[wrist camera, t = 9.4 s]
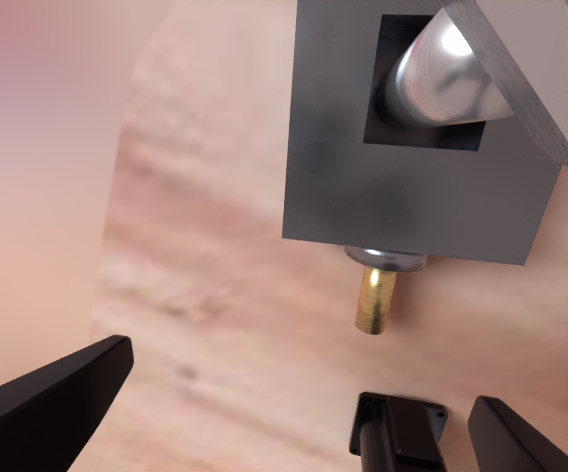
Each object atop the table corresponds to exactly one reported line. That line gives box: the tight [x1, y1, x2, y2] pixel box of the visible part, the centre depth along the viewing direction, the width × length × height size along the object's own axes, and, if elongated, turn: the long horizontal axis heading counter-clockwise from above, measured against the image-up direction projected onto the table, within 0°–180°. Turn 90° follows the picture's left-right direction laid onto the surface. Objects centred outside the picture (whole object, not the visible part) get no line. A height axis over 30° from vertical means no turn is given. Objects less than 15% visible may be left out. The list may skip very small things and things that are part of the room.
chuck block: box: [282, 0, 562, 335], centre depth 15 cm, size 20×11×5 cm, turn 176°
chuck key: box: [377, 0, 568, 165], centre depth 10 cm, size 6×3×9 cm, turn 42°
